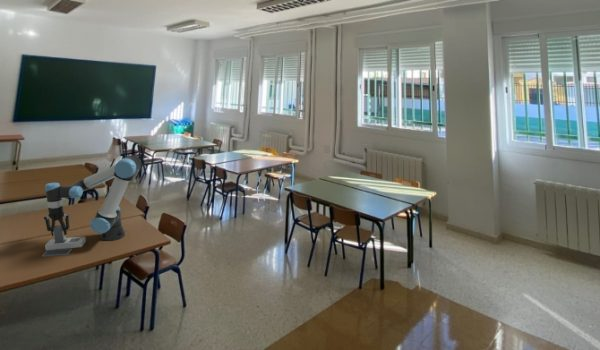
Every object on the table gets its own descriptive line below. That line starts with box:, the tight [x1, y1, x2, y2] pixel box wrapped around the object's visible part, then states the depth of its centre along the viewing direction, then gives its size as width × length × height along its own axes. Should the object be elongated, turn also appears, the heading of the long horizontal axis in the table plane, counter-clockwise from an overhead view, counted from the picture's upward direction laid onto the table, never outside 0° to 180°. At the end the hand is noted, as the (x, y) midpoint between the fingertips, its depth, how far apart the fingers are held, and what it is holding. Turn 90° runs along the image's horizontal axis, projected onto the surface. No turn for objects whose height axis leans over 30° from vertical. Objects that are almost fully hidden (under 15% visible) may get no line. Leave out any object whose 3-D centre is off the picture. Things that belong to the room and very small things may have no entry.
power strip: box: [44, 235, 87, 251], centre depth 209 cm, size 20×9×4 cm, turn 109°
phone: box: [41, 248, 73, 258], centre depth 200 cm, size 7×14×1 cm, turn 107°
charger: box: [53, 224, 64, 242], centre depth 207 cm, size 4×4×10 cm
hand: (60, 239), depth 208 cm, fingers closed on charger, 4 cm apart
